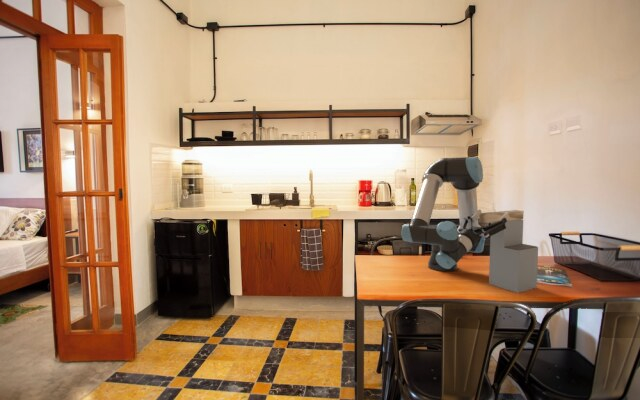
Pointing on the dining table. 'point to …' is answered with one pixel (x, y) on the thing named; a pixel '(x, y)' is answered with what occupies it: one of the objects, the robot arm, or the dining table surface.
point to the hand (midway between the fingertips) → (493, 213)
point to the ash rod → (495, 216)
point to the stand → (512, 259)
